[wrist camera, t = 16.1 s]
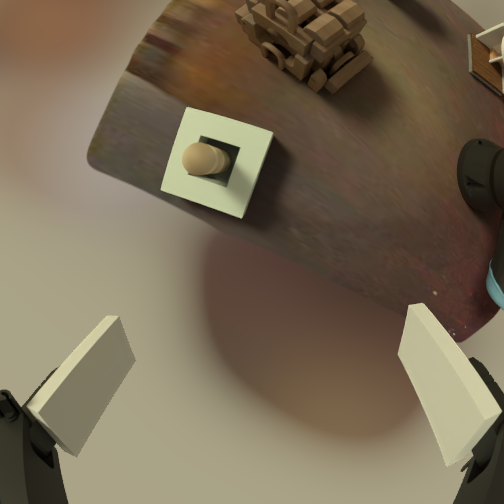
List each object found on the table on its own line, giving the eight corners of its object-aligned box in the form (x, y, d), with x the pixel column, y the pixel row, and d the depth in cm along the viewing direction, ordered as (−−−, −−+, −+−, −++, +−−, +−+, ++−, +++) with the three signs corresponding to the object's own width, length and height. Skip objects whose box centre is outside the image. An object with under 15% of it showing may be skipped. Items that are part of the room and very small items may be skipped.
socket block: (273, 135, 42) (273, 132, 37) (245, 212, 47) (241, 218, 42) (195, 112, 41) (186, 107, 37) (171, 186, 46) (160, 190, 41)
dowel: (230, 148, 43) (213, 140, 30) (232, 171, 44) (215, 173, 31) (207, 151, 43) (180, 144, 30) (209, 174, 45) (183, 177, 31)
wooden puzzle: (373, 60, 35) (417, 18, 18) (320, 105, 39) (347, 72, 22) (282, -10, 32) (282, -70, 14) (227, 31, 36) (201, -25, 18)
